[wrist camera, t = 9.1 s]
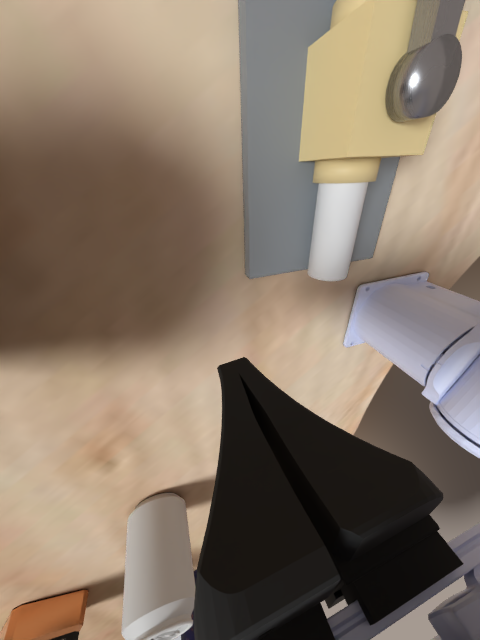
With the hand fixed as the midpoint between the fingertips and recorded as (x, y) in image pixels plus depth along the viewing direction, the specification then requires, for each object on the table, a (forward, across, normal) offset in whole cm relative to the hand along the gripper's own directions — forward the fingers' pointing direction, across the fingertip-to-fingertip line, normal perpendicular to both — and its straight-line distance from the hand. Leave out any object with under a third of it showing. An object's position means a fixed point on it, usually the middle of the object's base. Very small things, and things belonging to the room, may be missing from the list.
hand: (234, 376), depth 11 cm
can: (+10, +13, +30) cm, 34 cm away
